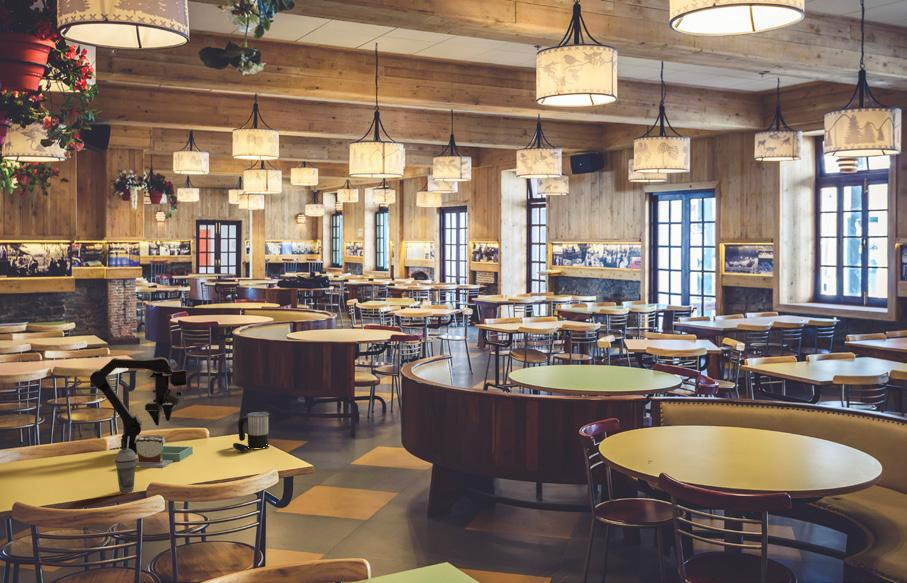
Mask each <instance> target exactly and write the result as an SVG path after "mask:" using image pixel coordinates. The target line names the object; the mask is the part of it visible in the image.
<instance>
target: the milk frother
mask: <svg viewBox="0 0 907 583" xmlns="http://www.w3.org/2000/svg"><path fill="white" fill-rule="evenodd" d="M269 415H270V413H269V412H265V411H264V412H263V411H256V412H254V411H253V412H249V413H247V414H246V415H245V416H242V417H240V419H238V422H237V427H238V439H239V441H240V442H242V441H245V440H246V427H245V426H246V425H245V422H247V445H245V444H243V443H238V442H234V443H233V444H232V446H233V448H234V449H235V450H236V451H239V452H240V453H241V452H242V453H249V452H250V450H251V449H249V448H263V447H265V449H267V447H268V448H270V445H269ZM266 444H267V445H266ZM268 445H269V446H268ZM248 447H249V448H248ZM248 451H249V452H248Z"/></svg>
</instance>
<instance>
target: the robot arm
mask: <svg viewBox="0 0 907 583" xmlns="http://www.w3.org/2000/svg"><path fill="white" fill-rule="evenodd" d="M115 369H138V370H148V371H152V373H151V374H150V375H149V378H154V389H153V390H152V393H154V399H153V401H150V402H148V403H146V404H145V405H144V411H146V412H147V413H148V414H149V416H150V417H151V419H152V421H153V423H154V424H155V425H156V426H157V427H159V425H160V417H161V416H160V415H161V413H162V412H163V413H164V416H165V420H166V421H167V422H169V421H170V420H171V416H172V412H173V410H174V408H175V407H176V406H178V405H181V404H182V400H184V393H183V392H184V391H183V392H182V391H178V392H173V390H172V388H170V385H171V386H173V387H186V386H188V378H187V370H186V369H182V370H173V368H172V367H171V365H169V360H168V359H167V358H166V357H163V356H160V357H159V356H158V357H154V358H153V357H152V358H148V359H145V358H143V359H141V358H139V359H138V358H137V359H136V358H134V359H133V358H117V357H113V358H111V360H110V361H109V362H108V363H107V364H105V365H104V366H103V367H102V368H100V369H99V368H98V369H96V370H94V371H93V372H92V373H91V375H90V382H91V383H92V384H93V385H94V386H95V388H96V389H98V390H99V391H101V392H102V393H103V395H104V396H105V397H106V399H107V400H108V402H109V403H110V405H111V407H112V408H113V409H114V410H115V412H116V413H117V414H118V416H119V418H120V419H121V420H122V424H123V426H124V429H125V430H124V431H123V432H122V435H121V439H120V450H121V449H124V448H127V441H128V436H129V446H128V448H129V449H131V450H133V451H134V453H135V454H137V447H136V443H134V442H135V439H136V438H137V437H138V436H139V435H140V434H141V433H142V429H143V424H142V422H143V421H142V420H141V419H140V418H139V416H138V414H137V413H136V414H135V415H133V414H132V413H131V412H130V411H129V409H128V408H127V407H126V405H125V404H124V402H123V400H122V399H121V398H120V397H119V395H118V394H117V392H116V391H115V389H114V388H113V387H112V384H111V382H110V378H109V375H111V374H112V373H113V371H115ZM169 377H170V378H169Z"/></svg>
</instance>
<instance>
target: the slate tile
mask: <svg viewBox="0 0 907 583" xmlns="http://www.w3.org/2000/svg"><path fill="white" fill-rule="evenodd" d="M170 463H171V464H172V463H173V461H172V460H162V463H138V459H136V465H135V466H141V467H140V468H158V467H164V468H165V467H167V466H169V465H171V464H170ZM168 464H169V465H168ZM166 465H167V466H166Z"/></svg>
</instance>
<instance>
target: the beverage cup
mask: <svg viewBox="0 0 907 583" xmlns="http://www.w3.org/2000/svg"><path fill="white" fill-rule="evenodd" d="M128 446H129V436H128V441H127V448H124V449H121V448H120V449H119V451H118V452H117V453H116V455H115V460H114V464H115V466H116V474H117V482H118V489H119V493H120V492H121V493H120V494H123V493H125V494H129V493H128V492H131V493H133V492H134V489H135V488H134V487H135V475H136V467H135V465H136V461H137V460H138V457H137V455H136V454H137V453H136V454H135V453H134V451H133V450H131V449H129V448H128ZM132 491H133V492H132Z"/></svg>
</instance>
